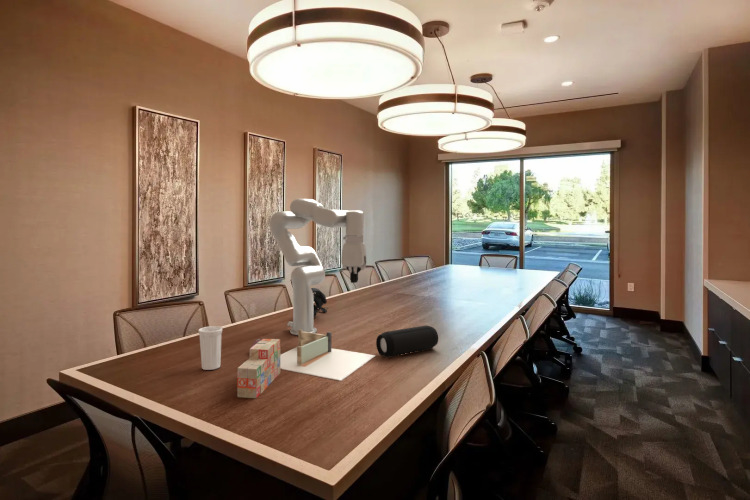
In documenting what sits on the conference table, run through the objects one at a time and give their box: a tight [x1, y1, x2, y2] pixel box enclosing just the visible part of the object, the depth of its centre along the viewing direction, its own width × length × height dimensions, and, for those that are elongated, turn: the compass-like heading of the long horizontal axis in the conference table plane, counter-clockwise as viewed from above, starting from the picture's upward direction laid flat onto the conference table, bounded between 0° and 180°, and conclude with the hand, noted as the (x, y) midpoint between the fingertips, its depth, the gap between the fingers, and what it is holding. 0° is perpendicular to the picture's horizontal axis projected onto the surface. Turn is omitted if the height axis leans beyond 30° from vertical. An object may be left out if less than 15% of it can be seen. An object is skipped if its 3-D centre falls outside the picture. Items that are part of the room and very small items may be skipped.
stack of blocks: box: [236, 338, 281, 399], centre depth 134 cm, size 21×6×12 cm, turn 174°
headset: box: [311, 287, 328, 318], centre depth 228 cm, size 16×12×27 cm
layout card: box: [280, 346, 376, 382], centre depth 158 cm, size 34×28×1 cm
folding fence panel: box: [296, 337, 328, 364], centre depth 158 cm, size 18×2×6 cm, turn 150°
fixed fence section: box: [297, 329, 333, 352], centre depth 170 cm, size 16×2×8 cm, turn 66°
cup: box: [197, 325, 223, 371], centre depth 148 cm, size 8×8×14 cm
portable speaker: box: [375, 325, 439, 358], centre depth 168 cm, size 26×10×10 cm, turn 122°
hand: (354, 282), depth 177 cm, fingers closed
